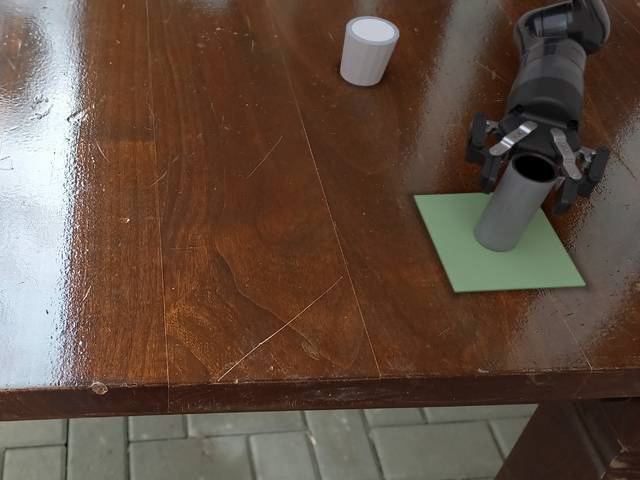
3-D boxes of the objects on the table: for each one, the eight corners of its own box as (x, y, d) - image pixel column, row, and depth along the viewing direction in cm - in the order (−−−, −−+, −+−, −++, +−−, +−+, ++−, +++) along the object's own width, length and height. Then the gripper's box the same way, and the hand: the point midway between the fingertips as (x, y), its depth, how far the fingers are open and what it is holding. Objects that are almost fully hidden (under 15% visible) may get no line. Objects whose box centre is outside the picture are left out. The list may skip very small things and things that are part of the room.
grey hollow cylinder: (476, 249, 75) (515, 179, 67) (470, 219, 78) (507, 149, 70) (519, 254, 74) (564, 185, 66) (512, 224, 77) (554, 153, 69)
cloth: (529, 193, 81) (531, 190, 81) (583, 287, 72) (586, 285, 72) (412, 198, 80) (414, 195, 80) (453, 294, 71) (455, 291, 71)
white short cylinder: (340, 90, 93) (352, 44, 88) (330, 60, 97) (341, 15, 92) (390, 90, 93) (405, 44, 88) (378, 60, 98) (392, 15, 92)
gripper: (491, 58, 77) (463, 147, 67) (631, 95, 73) (623, 195, 63) (466, 113, 83) (438, 202, 73) (595, 149, 79) (582, 248, 69)
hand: (524, 198), depth 68 cm, fingers open, 6 cm apart
